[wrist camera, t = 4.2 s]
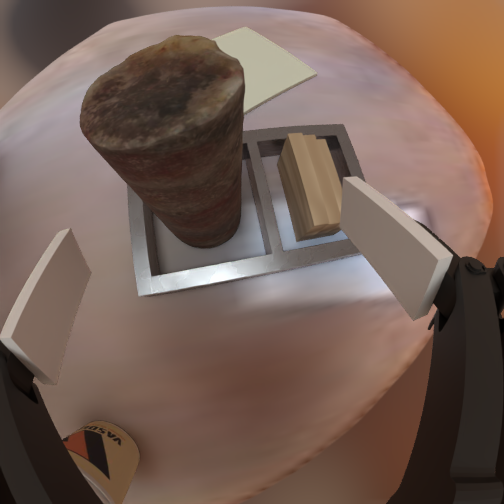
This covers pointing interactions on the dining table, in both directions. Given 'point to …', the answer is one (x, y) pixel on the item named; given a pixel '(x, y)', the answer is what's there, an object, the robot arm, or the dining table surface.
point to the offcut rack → (275, 258)
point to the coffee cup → (104, 459)
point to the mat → (263, 66)
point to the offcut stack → (310, 186)
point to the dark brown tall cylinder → (175, 134)
